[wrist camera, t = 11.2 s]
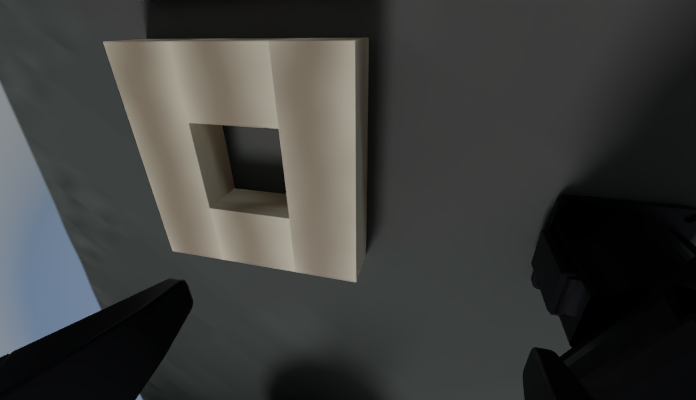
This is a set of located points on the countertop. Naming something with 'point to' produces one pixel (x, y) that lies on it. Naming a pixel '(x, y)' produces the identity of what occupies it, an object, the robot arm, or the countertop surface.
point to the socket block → (265, 112)
